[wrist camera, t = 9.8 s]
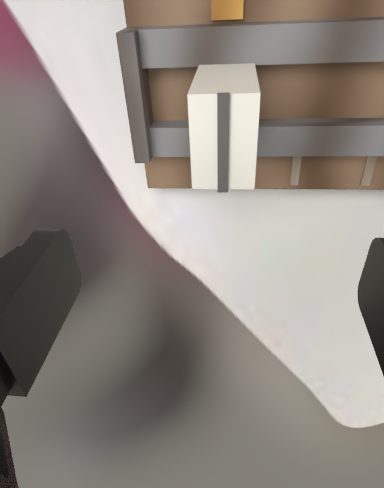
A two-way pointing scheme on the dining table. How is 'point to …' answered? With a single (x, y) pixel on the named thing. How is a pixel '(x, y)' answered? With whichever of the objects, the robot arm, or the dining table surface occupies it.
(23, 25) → the dining table surface
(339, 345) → the dining table surface
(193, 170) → the fader tab
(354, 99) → the fader console
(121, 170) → the dining table surface
